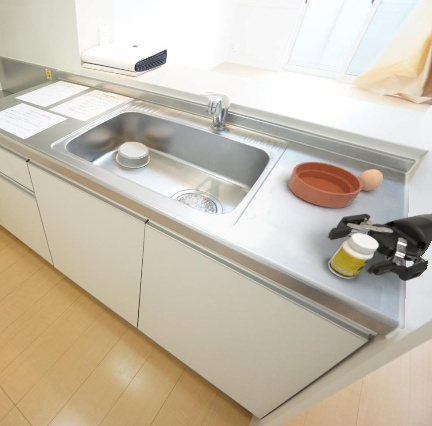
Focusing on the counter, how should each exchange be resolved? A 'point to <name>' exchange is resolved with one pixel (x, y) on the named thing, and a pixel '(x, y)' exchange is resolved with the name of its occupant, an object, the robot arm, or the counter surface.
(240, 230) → the counter surface
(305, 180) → the bowl
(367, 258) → the supplement bottle
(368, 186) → the egg
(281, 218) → the counter surface
